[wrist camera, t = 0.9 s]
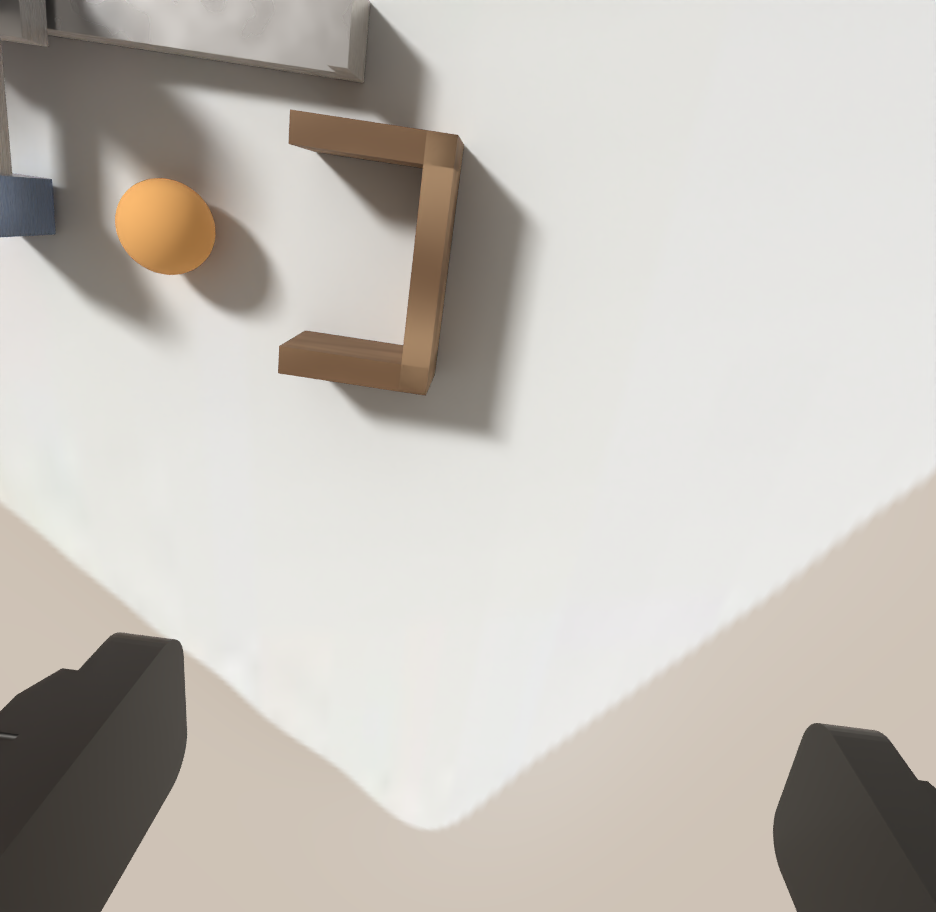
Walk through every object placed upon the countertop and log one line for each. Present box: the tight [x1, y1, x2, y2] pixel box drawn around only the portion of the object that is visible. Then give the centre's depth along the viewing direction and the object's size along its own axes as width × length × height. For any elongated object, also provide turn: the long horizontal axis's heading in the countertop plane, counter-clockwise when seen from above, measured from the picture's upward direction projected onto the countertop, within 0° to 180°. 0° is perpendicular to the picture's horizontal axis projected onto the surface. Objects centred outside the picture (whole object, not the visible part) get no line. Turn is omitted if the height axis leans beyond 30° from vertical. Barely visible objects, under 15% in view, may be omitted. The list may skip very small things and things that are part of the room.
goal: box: [278, 110, 464, 396], centre depth 30 cm, size 10×6×4 cm, turn 172°
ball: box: [115, 178, 216, 275], centre depth 30 cm, size 4×4×4 cm
